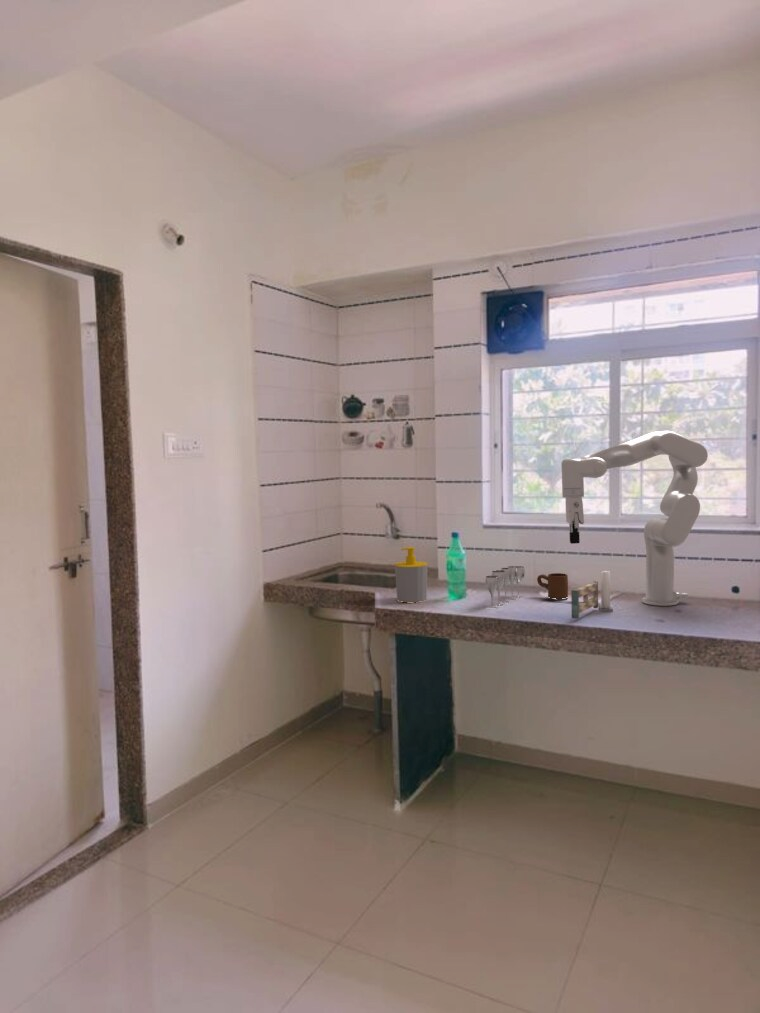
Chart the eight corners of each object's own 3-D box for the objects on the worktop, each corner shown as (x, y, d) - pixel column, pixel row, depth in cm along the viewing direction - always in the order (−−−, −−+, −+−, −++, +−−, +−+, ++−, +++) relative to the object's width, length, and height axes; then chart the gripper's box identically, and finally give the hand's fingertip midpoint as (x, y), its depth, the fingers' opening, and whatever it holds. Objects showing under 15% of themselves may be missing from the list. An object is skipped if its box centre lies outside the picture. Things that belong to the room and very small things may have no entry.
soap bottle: (395, 597, 279) (394, 545, 277) (427, 596, 278) (426, 544, 277) (395, 604, 266) (393, 550, 264) (428, 603, 265) (427, 549, 264)
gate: (594, 606, 247) (594, 580, 246) (599, 607, 246) (598, 581, 245) (571, 618, 232) (571, 590, 231) (576, 618, 231) (576, 591, 230)
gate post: (610, 608, 248) (609, 570, 247) (613, 611, 243) (612, 572, 242) (598, 608, 248) (598, 570, 247) (601, 611, 243) (601, 572, 242)
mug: (534, 598, 268) (534, 575, 267) (540, 595, 275) (539, 571, 274) (565, 601, 262) (565, 577, 261) (570, 597, 269) (570, 573, 268)
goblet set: (496, 610, 251) (495, 574, 250) (482, 608, 254) (481, 573, 253) (528, 596, 273) (527, 563, 272) (514, 595, 277) (514, 562, 276)
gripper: (587, 493, 240) (589, 545, 241) (579, 491, 255) (581, 540, 256) (566, 494, 241) (567, 546, 242) (559, 492, 256) (560, 540, 257)
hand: (574, 543), depth 249 cm, fingers closed
